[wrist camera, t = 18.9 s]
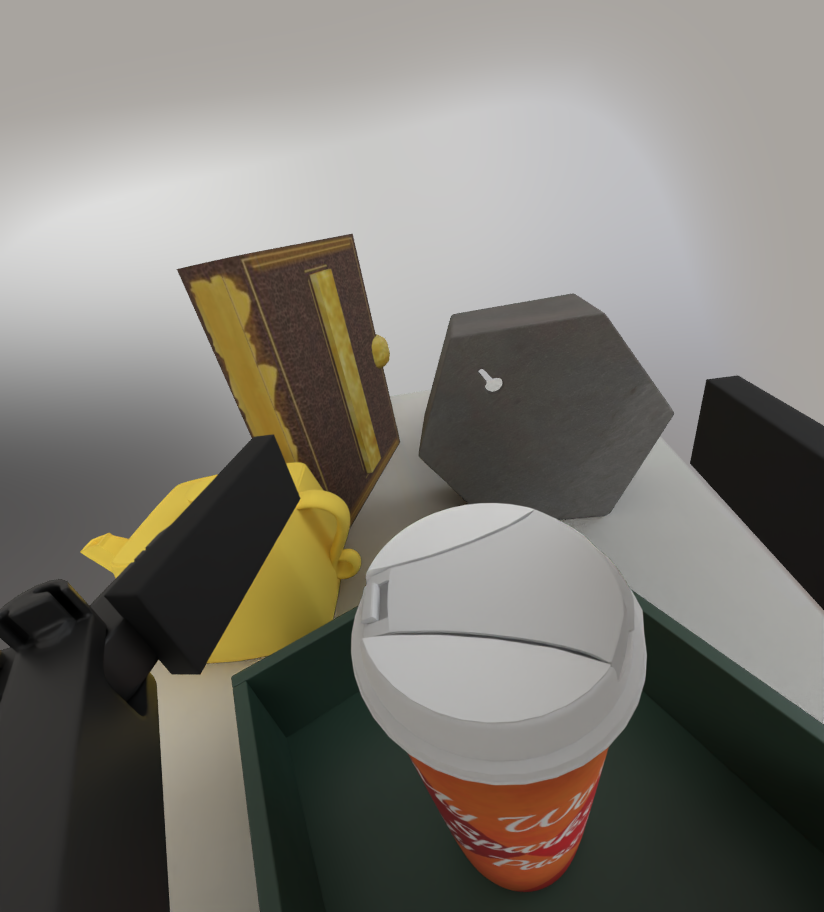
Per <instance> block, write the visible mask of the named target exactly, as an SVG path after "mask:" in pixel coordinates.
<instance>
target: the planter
mask: <svg viewBox="0 0 824 912" xmlns="http://www.w3.org/2000/svg"><path fill="white" fill-rule="evenodd" d="M480 369H484V370H485V371H486V372H487V373H488V374H489V375H490V376H491V377H492V378H501V379H502V382H503V384H502V386H501V388H500V389H499V390H497V391H494V392H491V391H488V390H487V389H486V388H485V385H486V380H485V379H484V378H483V377H482V376H481V374H480V373H479V372H478V371H479V370H480ZM673 415H674V412H673V410H672V409H671V407H670V406H669V404H668V403H667V401H666V400H665V398H664V397H663V396H662V394H661V393H660V391H659V390H658V389H657V387H656V386H655V384H654V383H653V381H652V380H651V379H650V377H649V376H648V374H647V373H646V371H645V370H644V369H643V367H642V366H641V364H640V363H639V361H638V360H637V358H636V357H635V356H634V354H633V353H632V351H631V350H630V348H629V347H628V346H627V344H626V343H625V341H624V340H623V338H622V337H621V336H620V334H619V333H618V331H617V330H616V328H615V327H614V326H613V324H612V323H611V321H610V320H609V318H608V317H607V316H606V315H605V313H603V312H602V311H600V310H599V309H597V308H596V307H594V306H592V305H591V304H589V303H588V302H586V301H585V300H583V299H582V298H580V297H579V296H577V295H576V294H567V295H561V296H556V297H550V298H544V299H538V300H533V301H527V302H521V303H515V304H510V305H504V306H498V307H492V308H487V309H481V310H475V311H470V312H463V313H458V314H453V315H452V316H451V318H450V321H449V325H448V329H447V333H446V337H445V340H444V344H443V348H442V352H441V355H440V359H439V363H438V367H437V370H436V374H435V378H434V382H433V385H432V389H431V393H430V397H429V400H428V404H427V408H426V412H425V415H424V422H423V429H422V435H421V442H420V448H419V457H420V458H421V459H422V460H423V461H424V462H425V463H426V464H427V465H428V466H429V467H430V468H431V469H432V470H434V471H435V472H436V473H437V474H438V475H439V476H440V477H441V478H442V479H443V480H444V481H445V482H446V483H447V484H448V485H449V486H451V487H452V488H453V489H454V490H455V491H456V492H457V493H458V494H459V495H460V496H461V497H462V498H463V499H464V500H465V501H466V502H468V503H469V504H478V503H501V504H512V505H518V506H524V507H529V508H532V509H535V510H538V511H540V512H542V513H544V514H547V515H549V516H551V517H553V518H556V519H568V518H581V517H593V516H604V515H607V514H609V513H610V512H611V511H612V509H613V508H614V506H615V505H616V503H617V502H618V500H619V498H620V497H621V495H622V494H623V492H624V491H625V489H626V488H627V486H628V485H629V483H630V482H631V480H632V478H633V477H634V475H635V474H636V472H637V471H638V469H639V468H640V466H641V465H642V463H643V462H644V460H645V458H646V457H647V455H648V454H649V452H650V451H651V449H652V448H653V446H654V445H655V443H656V441H657V440H658V438H659V437H660V435H661V433H662V432H663V431H664V429H665V428H666V426H667V424H668V422H669V421H670V420H671V418H672V417H673Z"/></svg>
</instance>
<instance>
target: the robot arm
mask: <svg viewBox="0 0 824 912" xmlns="http://www.w3.org/2000/svg"><path fill="white" fill-rule="evenodd" d="M690 464H691V465H692V466H693V467H694V468H695V469H696V470H697V471H698V472H699V474H700V475H701V476H702V477H703V478H704V479H705V480H706V481H707V482H708V484H709V485H710V486H711V487H712V488H713V489H714V490H715V491H716V492H717V493H718V495H719V496H720V497H721V498H722V499H723V500H724V501H725V502H726V503H727V504H728V505H729V507H730V508H731V509H732V510H733V511H734V512H735V513H736V514H737V515H738V517H739V518H741V520H742V521H743V522H744V523H745V524H746V525H747V526H748V527H749V529H750V530H751V531H752V532H753V533H754V534H755V535H756V536H757V537H758V538H759V539H760V541H761V542H762V543H763V544H764V545H765V546H766V547H767V548H768V549H769V551H770V552H771V553H772V554H773V555H774V556H775V557H776V558H777V559H778V560H779V561H780V563H781V564H782V565H783V566H784V567H785V568H786V569H787V570H788V571H789V572H790V574H791V575H792V576H793V577H794V578H795V579H796V580H797V581H798V582H799V583H800V585H801V586H802V587H803V588H804V589H805V590H806V591H807V592H808V593H809V594H810V596H811V597H812V598H813V599H814V600H815V601H816V602H817V603H818V604H819V605H820V606H821V607H822V609H823V610H824V426H823V425H821V424H820V423H818V422H816V421H815V420H813V419H811V418H810V417H808V416H806V415H804V414H803V413H801V412H799V411H798V410H796V409H794V408H792V407H791V406H789V405H787V404H786V403H784V402H782V401H781V400H779V399H777V398H775V397H774V396H772V395H770V394H769V393H767V392H765V391H763V390H761V389H760V388H758V387H757V386H755V385H753V384H752V383H750V382H748V381H746V380H745V379H743V378H741V377H740V376H731V377H723V378H715V379H707V380H706V385H705V390H704V395H703V400H702V405H701V410H700V415H699V420H698V426H697V431H696V436H695V441H694V446H693V451H692V456H691V461H690ZM300 499H301V498H300V496H299V493H298V491H297V489H296V486H295V484H294V481H293V479H292V476H291V474H290V472H289V469H288V467H287V464H286V462H285V460H284V457H283V455H282V452H281V450H280V448H279V445H278V443H277V440H276V438H275V436H274V434H272V435H264V436H256V437H253V438H252V439H251V441H249V442H248V443H247V445H246V446H245V447H244V448H243V449H242V450H241V451H240V452H239V453H238V454H237V455H236V456H235V458H233V459H232V460H231V462H230V463H229V464H228V465H227V466H226V467H225V468H224V469H223V470H222V471H221V472H220V473H219V474H218V475H217V476H216V477H215V478H214V479H213V481H212V482H211V483H210V484H209V485H208V486H207V487H206V488H205V489H204V490H203V491H202V492H201V493H200V494H199V495H198V496H197V498H196V499H195V500H194V501H193V502H192V503H191V504H190V505H189V506H188V507H187V508H186V509H185V510H184V511H183V512H182V513H181V515H180V516H179V517H178V518H177V519H176V520H175V521H174V522H173V523H172V524H171V525H170V526H168V527H167V528H166V529H164V530H163V531H161V532H160V533H159V534H158V535H157V536H156V537H155V538H154V539H153V540H152V541H151V542H150V543H149V544H148V545H147V546H146V547H145V548H146V549H145V550H142V551H141V553H140V554H139V555H138V556H137V557H136V558H135V559H134V562H131V563H130V564H129V565H128V566H127V567H126V568H125V569H124V570H123V571H122V572H121V573H120V575H119V576H118V577H117V578H116V579H115V580H114V581H113V582H112V583H111V584H110V585H109V586H108V587H107V588H106V589H105V590H104V592H102V594H100V596H99V597H98V598H97V599H96V600H95V601H94V602H93V603H92V604H91V605H90V606H89V605H88V604H87V603H86V602H85V600H84V599H83V598H82V597H81V596H80V595H79V594H78V593H77V592H76V591H75V589H74V588H73V587H72V586H71V585H70V584H69V583H68V582H67V581H65V580H62V579H58V580H51V581H47V582H45V583H42V584H40V585H37V586H34V587H33V588H31V589H29V590H27V591H25V592H23V593H21V594H20V595H18V596H17V597H15V598H14V599H13V600H11V601H10V602H8V603H7V604H5V605H4V606H3V607H2V608H1V609H0V638H1V639H2V640H3V641H4V642H6V643H7V644H8V645H9V646H10V648H7V649H3V650H0V912H170V905H169V888H168V871H167V853H166V836H165V819H164V802H163V785H162V767H161V750H160V733H159V716H158V699H157V683H156V681H155V678H154V676H153V675H152V674H151V673H150V671H151V670H152V668H153V667H154V665H155V664H156V662H157V661H158V660H160V661H161V663H162V664H163V665H164V666H165V667H166V668H167V669H168V671H169V672H170V673H171V674H201V672H202V670H203V669H204V667H205V665H206V663H207V662H208V660H209V658H210V656H211V655H212V653H213V651H214V649H215V648H216V646H217V644H218V642H219V641H220V639H221V637H222V635H223V634H224V632H225V630H226V628H227V627H228V625H229V623H230V621H231V620H232V618H233V616H234V614H235V613H236V611H237V609H238V607H239V606H240V604H241V602H242V600H243V599H244V597H245V595H246V593H247V592H248V590H249V588H250V586H251V585H252V583H253V581H254V579H255V578H256V576H257V574H258V572H259V571H260V569H261V567H262V565H263V564H264V562H265V560H266V558H267V557H268V555H269V553H270V551H271V550H272V548H273V546H274V544H275V543H276V541H277V539H278V537H279V536H280V534H281V532H282V530H283V529H284V527H285V525H286V523H287V522H288V520H289V518H290V516H291V515H292V513H293V511H294V509H295V508H296V506H297V504H298V502H299V501H300Z"/></svg>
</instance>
